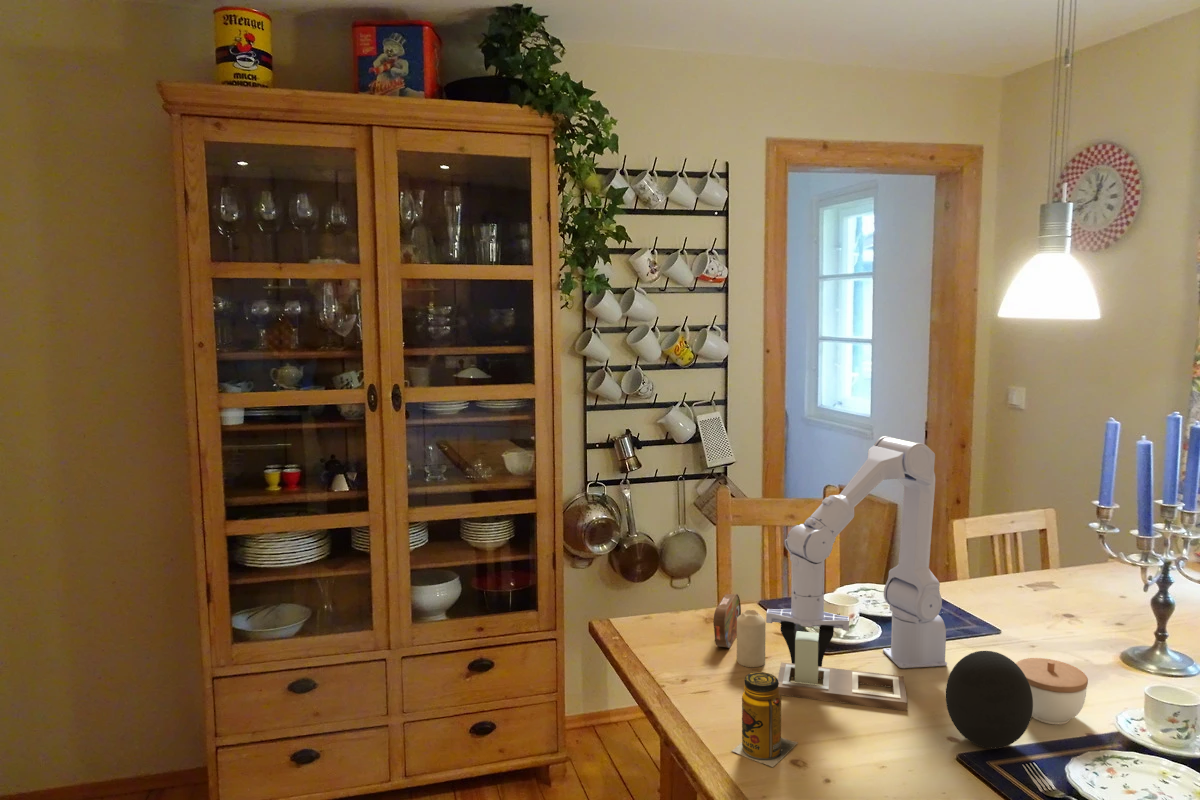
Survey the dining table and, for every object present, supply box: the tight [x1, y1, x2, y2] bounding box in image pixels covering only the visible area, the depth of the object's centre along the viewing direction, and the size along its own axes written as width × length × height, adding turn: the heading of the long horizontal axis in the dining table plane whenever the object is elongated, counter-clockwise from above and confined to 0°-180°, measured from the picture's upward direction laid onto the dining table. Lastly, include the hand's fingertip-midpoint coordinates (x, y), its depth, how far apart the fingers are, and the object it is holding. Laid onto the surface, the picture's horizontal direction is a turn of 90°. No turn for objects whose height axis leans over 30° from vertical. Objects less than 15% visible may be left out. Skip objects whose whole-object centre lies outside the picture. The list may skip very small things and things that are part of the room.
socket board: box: [777, 661, 908, 712], centre depth 146 cm, size 22×10×2 cm, turn 73°
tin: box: [712, 593, 742, 649], centre depth 168 cm, size 15×3×8 cm, turn 158°
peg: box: [794, 630, 819, 685], centre depth 147 cm, size 4×4×8 cm
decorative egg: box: [945, 650, 1033, 749], centre depth 127 cm, size 12×12×15 cm
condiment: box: [730, 671, 799, 768], centre depth 127 cm, size 7×8×12 cm
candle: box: [736, 609, 767, 668], centre depth 157 cm, size 6×6×10 cm
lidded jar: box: [1015, 657, 1089, 726], centre depth 135 cm, size 11×11×9 cm
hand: (806, 662), depth 148 cm, fingers closed on peg, 4 cm apart
